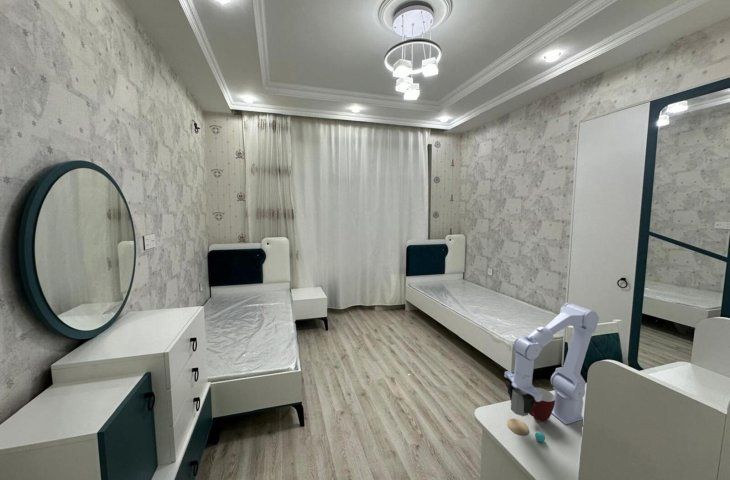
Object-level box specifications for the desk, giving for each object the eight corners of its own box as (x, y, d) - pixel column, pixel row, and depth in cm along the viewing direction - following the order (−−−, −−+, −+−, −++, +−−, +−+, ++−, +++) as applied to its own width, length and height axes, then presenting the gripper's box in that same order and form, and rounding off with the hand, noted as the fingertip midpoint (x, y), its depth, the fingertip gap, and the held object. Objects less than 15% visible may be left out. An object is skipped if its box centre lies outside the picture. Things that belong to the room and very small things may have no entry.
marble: (539, 436, 102) (540, 428, 102) (546, 443, 99) (547, 435, 99) (532, 438, 101) (533, 430, 101) (540, 445, 98) (541, 437, 98)
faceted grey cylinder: (519, 403, 108) (521, 386, 107) (531, 414, 103) (533, 396, 102) (507, 406, 107) (509, 389, 106) (519, 417, 101) (521, 399, 100)
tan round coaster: (517, 418, 110) (517, 416, 110) (533, 432, 104) (533, 430, 104) (502, 422, 108) (503, 421, 108) (517, 436, 102) (518, 435, 102)
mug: (541, 432, 104) (544, 407, 102) (519, 417, 110) (522, 394, 109) (556, 420, 109) (559, 396, 108) (534, 407, 116) (537, 384, 114)
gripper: (499, 362, 108) (496, 395, 110) (532, 386, 95) (528, 423, 97) (514, 359, 110) (511, 391, 112) (548, 382, 97) (544, 418, 99)
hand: (519, 406), depth 105 cm, fingers closed on faceted grey cylinder, 6 cm apart
